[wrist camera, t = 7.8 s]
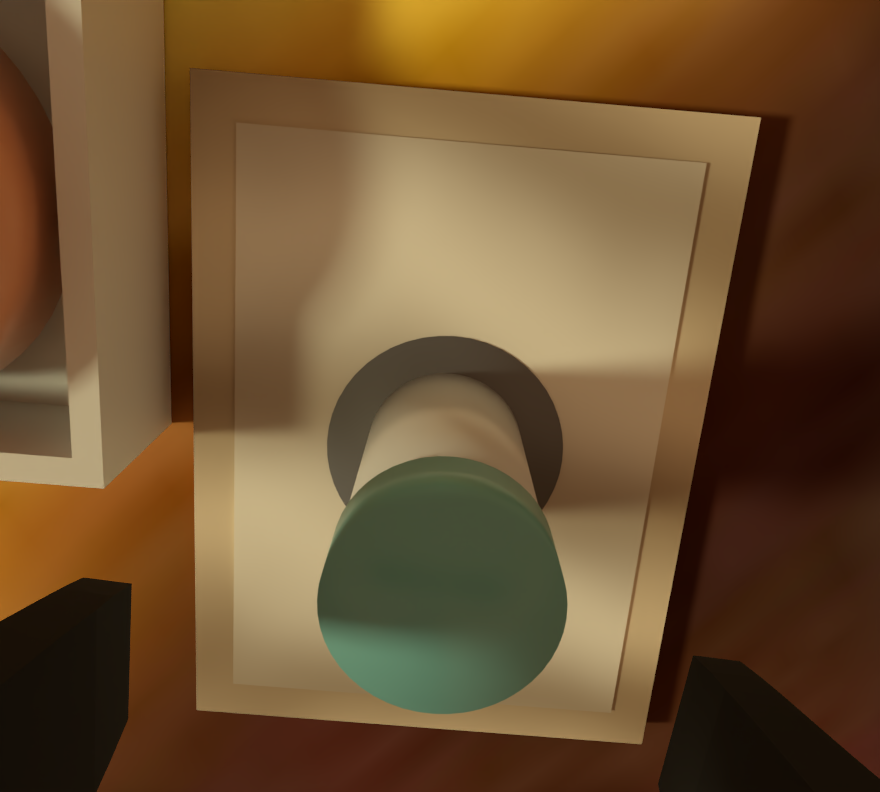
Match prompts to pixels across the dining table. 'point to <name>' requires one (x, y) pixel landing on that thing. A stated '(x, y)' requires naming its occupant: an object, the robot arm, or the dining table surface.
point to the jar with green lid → (442, 556)
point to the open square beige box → (95, 244)
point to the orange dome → (25, 216)
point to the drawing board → (449, 358)
